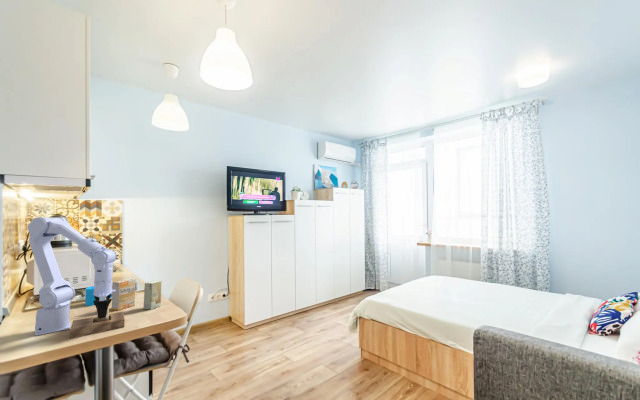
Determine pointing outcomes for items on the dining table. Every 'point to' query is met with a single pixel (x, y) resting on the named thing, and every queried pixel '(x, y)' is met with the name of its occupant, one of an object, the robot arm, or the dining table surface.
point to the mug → (90, 296)
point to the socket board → (96, 325)
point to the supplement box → (123, 294)
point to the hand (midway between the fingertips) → (102, 315)
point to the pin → (105, 317)
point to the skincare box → (152, 295)
